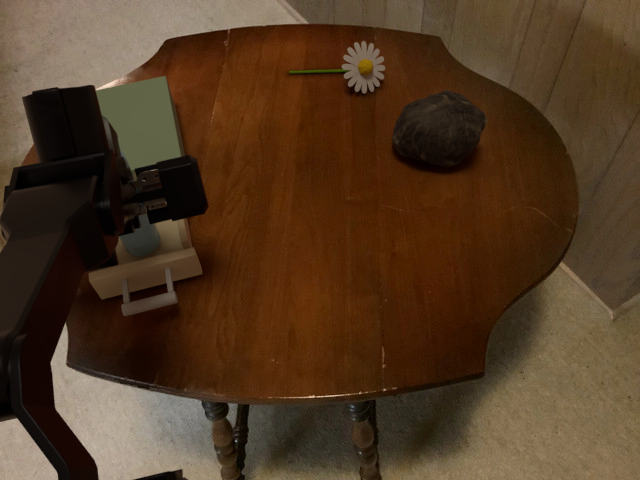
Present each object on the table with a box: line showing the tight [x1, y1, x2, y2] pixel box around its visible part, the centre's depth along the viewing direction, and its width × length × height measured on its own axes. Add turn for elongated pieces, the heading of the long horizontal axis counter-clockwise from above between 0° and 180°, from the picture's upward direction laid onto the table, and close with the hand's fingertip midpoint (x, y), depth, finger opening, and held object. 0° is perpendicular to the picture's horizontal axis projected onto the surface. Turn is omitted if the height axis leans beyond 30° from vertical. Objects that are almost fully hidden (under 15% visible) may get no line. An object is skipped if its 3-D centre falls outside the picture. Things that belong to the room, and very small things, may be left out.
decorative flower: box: [288, 40, 386, 95], centre depth 92 cm, size 8×6×15 cm
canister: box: [119, 151, 160, 256], centre depth 68 cm, size 4×4×14 cm
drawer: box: [88, 173, 203, 317], centre depth 73 cm, size 21×12×4 cm, turn 15°
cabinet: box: [96, 75, 186, 174], centre depth 84 cm, size 17×13×6 cm
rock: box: [391, 89, 488, 168], centre depth 80 cm, size 10×11×10 cm
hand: (125, 199), depth 69 cm, fingers closed on canister, 4 cm apart
